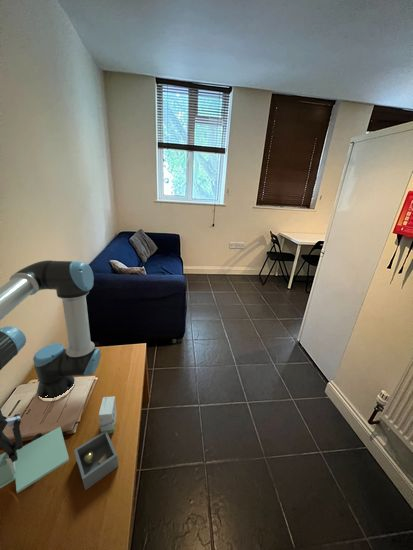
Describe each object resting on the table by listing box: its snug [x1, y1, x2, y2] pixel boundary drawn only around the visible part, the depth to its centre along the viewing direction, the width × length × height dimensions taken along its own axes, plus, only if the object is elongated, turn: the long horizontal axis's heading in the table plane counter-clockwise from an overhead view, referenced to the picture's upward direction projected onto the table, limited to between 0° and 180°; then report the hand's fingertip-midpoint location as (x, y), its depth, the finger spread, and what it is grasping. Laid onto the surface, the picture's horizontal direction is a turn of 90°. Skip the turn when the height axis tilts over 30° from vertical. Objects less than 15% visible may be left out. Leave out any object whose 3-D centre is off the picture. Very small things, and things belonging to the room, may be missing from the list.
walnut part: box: [98, 454, 110, 465], centre depth 80 cm, size 3×3×3 cm
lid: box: [0, 426, 70, 494], centre depth 63 cm, size 12×16×8 cm
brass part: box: [84, 451, 94, 467], centre depth 81 cm, size 3×3×4 cm
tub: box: [73, 431, 119, 491], centre depth 80 cm, size 11×11×7 cm
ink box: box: [98, 395, 118, 435], centre depth 92 cm, size 8×5×12 cm, turn 12°
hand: (3, 474), depth 60 cm, fingers closed on lid, 3 cm apart
